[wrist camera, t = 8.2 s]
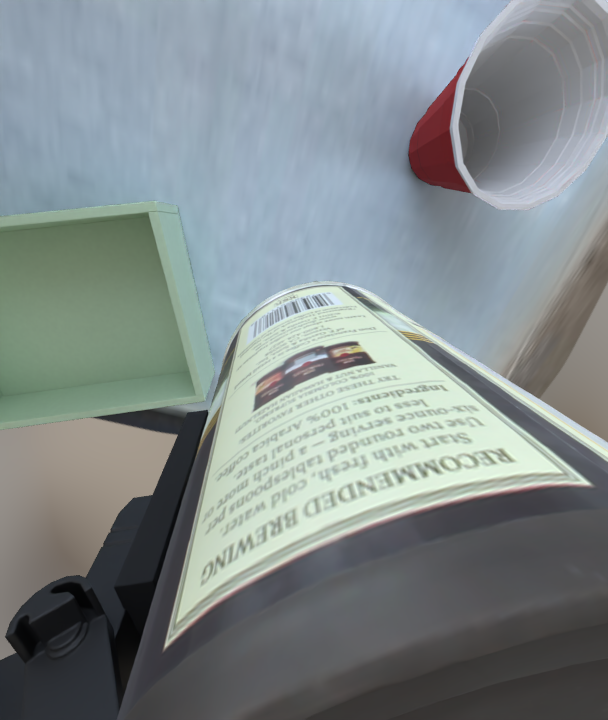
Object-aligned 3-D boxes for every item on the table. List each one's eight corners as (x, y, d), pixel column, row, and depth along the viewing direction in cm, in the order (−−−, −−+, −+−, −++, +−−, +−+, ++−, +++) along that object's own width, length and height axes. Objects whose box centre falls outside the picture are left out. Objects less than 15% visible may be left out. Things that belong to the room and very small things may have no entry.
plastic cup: (442, 238, 33) (533, 246, 22) (358, 168, 29) (415, 134, 18) (521, 132, 30) (672, 78, 19) (437, 41, 26) (561, -89, 15)
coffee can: (324, 487, 20) (435, 981, 7) (179, 391, 16) (-146, 1008, 3) (455, 368, 18) (980, 762, 5) (319, 229, 14) (851, 256, 1)
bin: (-87, 232, 27) (-183, 234, 22) (177, 205, 29) (155, 200, 23) (2, 400, 34) (-52, 437, 28) (215, 372, 35) (205, 401, 29)
